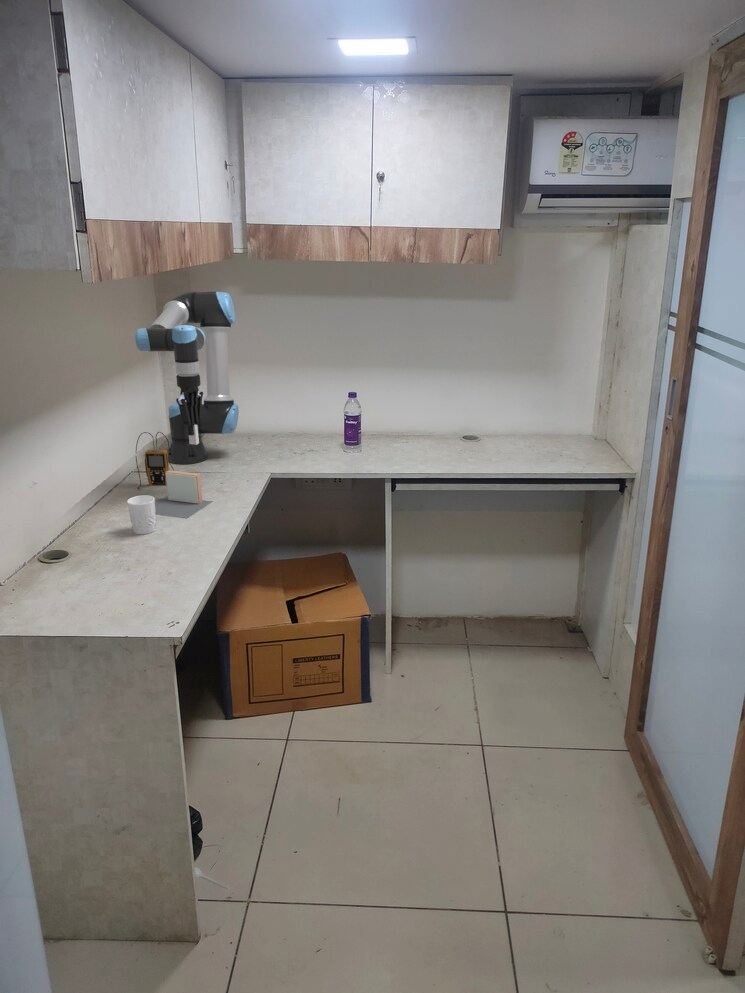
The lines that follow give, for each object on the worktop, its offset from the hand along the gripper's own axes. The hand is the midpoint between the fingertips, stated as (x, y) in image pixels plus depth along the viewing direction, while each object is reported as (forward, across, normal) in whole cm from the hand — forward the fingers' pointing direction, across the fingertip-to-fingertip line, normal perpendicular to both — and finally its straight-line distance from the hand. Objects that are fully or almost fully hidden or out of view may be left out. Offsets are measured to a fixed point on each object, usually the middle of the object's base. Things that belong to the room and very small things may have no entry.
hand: (194, 443), depth 242 cm
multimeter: (+19, 0, -17) cm, 25 cm away
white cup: (+19, +33, +1) cm, 38 cm away
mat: (+18, +14, 0) cm, 23 cm away
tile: (+18, +8, 0) cm, 20 cm away
